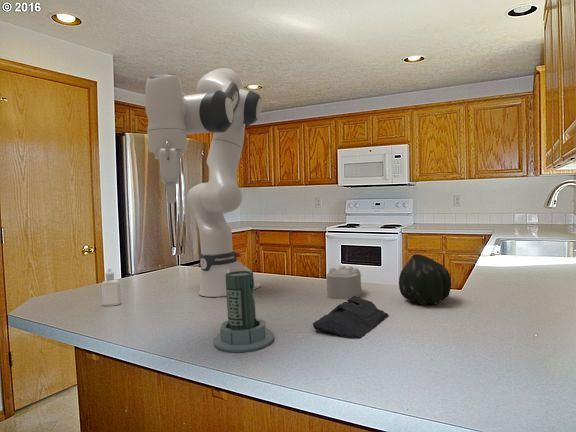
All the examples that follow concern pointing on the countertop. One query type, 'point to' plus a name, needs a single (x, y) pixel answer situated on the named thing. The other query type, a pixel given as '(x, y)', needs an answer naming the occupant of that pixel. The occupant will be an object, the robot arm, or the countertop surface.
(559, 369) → the countertop surface
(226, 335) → the collar seat
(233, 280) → the can
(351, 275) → the lumpy-topped squat cylinder
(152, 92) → the robot arm
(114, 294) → the eye dropper bottle
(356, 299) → the dark slate chunk
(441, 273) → the squash
